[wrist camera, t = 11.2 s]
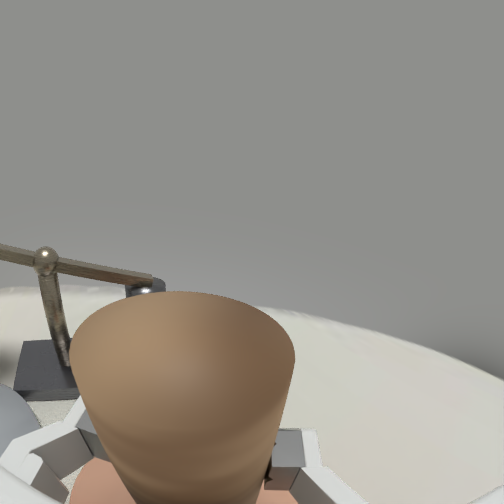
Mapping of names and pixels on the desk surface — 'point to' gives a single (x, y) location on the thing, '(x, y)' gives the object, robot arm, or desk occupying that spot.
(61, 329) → the balance
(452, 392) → the desk surface
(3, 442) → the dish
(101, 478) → the dish
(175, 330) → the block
